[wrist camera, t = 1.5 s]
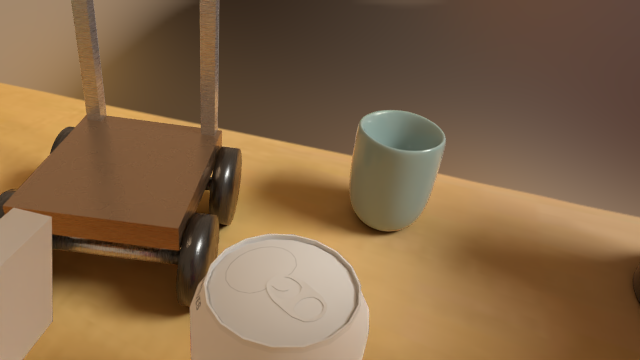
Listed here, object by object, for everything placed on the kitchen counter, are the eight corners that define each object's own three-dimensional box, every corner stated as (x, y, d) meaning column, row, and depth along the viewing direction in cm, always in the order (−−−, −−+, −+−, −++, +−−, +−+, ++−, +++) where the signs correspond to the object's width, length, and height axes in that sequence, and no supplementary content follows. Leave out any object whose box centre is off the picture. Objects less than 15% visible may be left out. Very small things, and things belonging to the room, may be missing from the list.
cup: (437, 230, 54) (464, 142, 48) (374, 252, 50) (395, 159, 44) (389, 188, 59) (408, 104, 53) (329, 205, 55) (342, 116, 50)
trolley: (240, 195, 55) (252, -103, 40) (198, 327, 40) (192, -59, 26) (87, 176, 54) (42, -131, 40) (-9, 301, 40) (-135, -103, 25)
